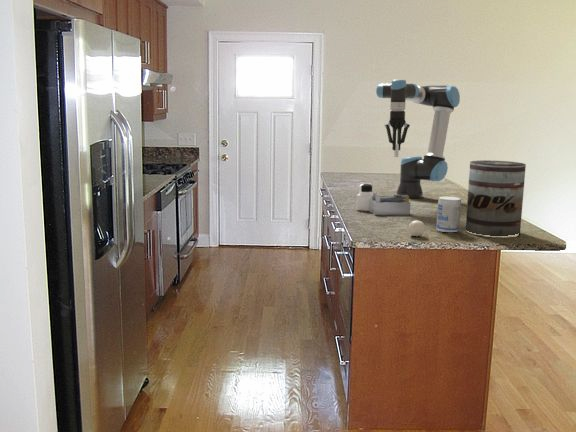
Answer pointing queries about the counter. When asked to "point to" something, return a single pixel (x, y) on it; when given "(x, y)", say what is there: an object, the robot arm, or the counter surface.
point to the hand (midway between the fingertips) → (396, 156)
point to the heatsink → (389, 206)
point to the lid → (392, 197)
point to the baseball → (416, 228)
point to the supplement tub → (448, 214)
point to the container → (364, 197)
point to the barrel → (495, 197)
